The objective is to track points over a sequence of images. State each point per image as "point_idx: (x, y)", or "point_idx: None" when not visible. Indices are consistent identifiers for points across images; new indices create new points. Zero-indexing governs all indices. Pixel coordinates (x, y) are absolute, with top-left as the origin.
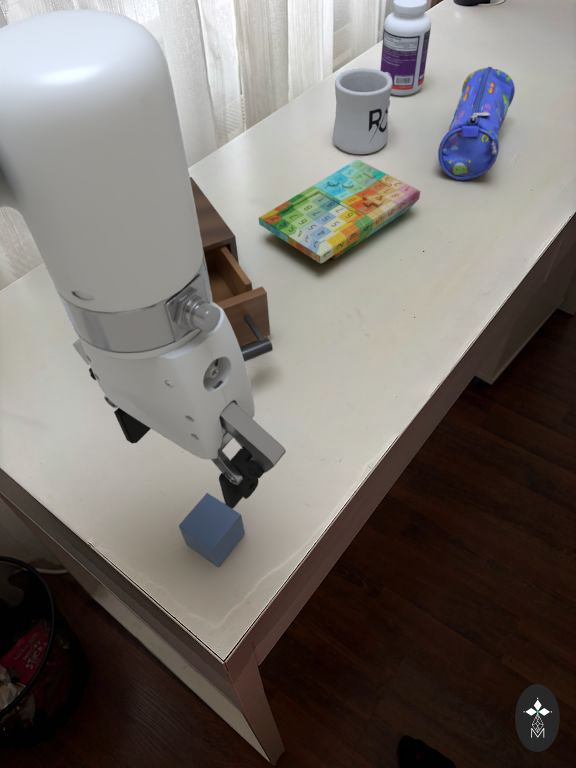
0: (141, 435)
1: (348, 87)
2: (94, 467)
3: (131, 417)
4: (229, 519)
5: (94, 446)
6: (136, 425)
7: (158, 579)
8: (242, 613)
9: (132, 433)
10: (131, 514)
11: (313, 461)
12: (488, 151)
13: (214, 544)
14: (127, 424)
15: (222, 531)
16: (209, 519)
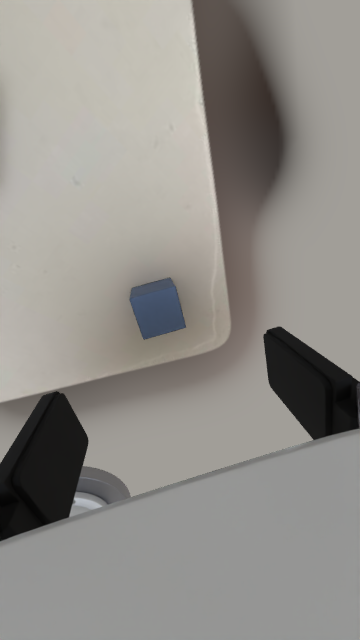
0: (80, 431)
1: None
2: (12, 351)
3: (64, 498)
4: (171, 298)
5: None
6: (72, 463)
7: (155, 354)
8: (221, 319)
9: (81, 464)
10: (86, 346)
11: (150, 156)
12: None
13: (183, 324)
14: (72, 497)
15: (177, 311)
16: (158, 313)
